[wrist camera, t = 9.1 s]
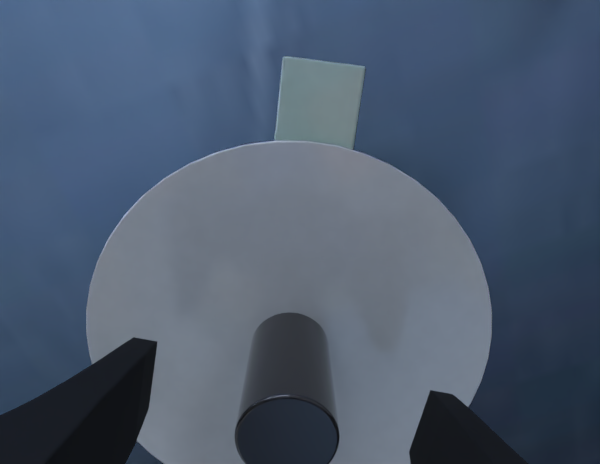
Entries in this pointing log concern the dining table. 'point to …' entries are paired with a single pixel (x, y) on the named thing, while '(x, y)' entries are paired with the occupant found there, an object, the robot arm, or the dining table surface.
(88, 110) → the dining table surface
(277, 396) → the lid
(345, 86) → the grey-green ring with tabs
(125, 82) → the dining table surface
